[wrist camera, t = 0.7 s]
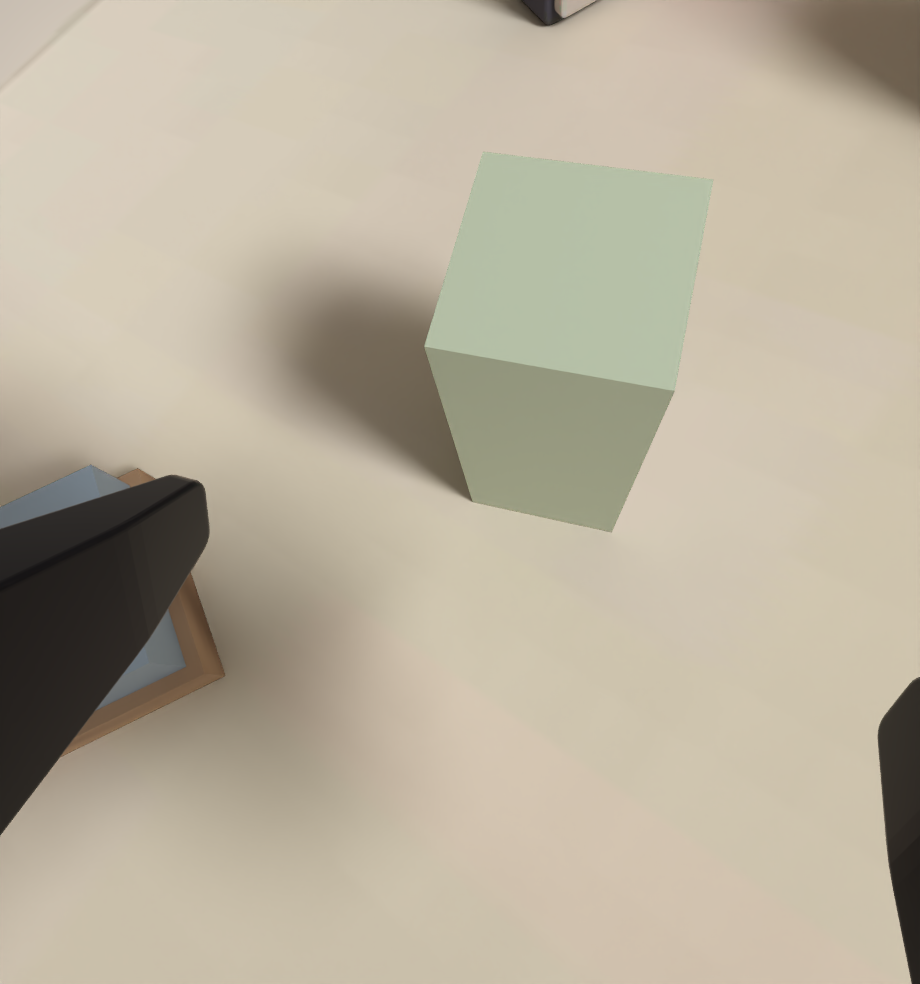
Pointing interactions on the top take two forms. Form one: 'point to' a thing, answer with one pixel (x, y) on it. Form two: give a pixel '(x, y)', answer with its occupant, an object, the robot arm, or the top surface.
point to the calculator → (555, 8)
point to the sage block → (564, 330)
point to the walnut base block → (196, 674)
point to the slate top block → (77, 488)
